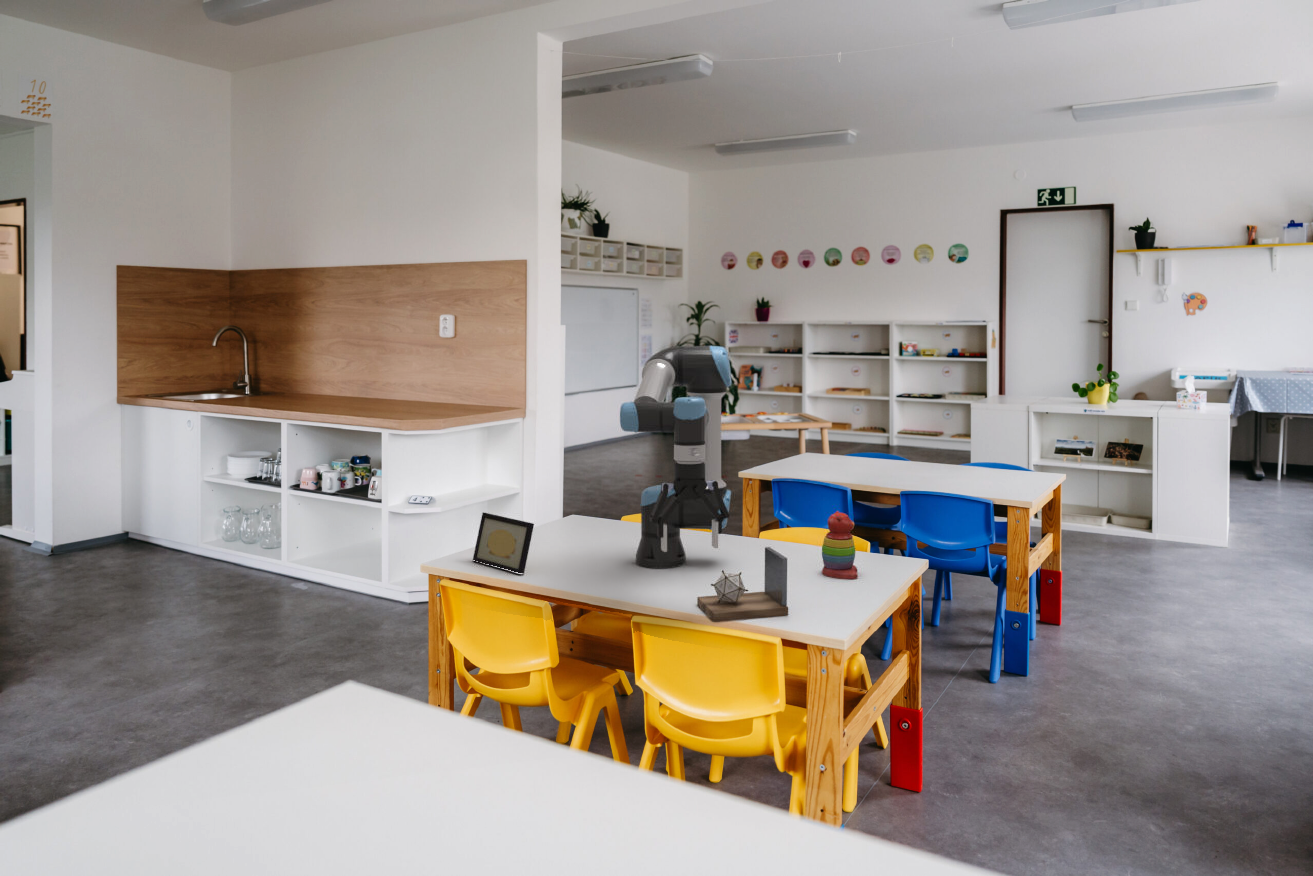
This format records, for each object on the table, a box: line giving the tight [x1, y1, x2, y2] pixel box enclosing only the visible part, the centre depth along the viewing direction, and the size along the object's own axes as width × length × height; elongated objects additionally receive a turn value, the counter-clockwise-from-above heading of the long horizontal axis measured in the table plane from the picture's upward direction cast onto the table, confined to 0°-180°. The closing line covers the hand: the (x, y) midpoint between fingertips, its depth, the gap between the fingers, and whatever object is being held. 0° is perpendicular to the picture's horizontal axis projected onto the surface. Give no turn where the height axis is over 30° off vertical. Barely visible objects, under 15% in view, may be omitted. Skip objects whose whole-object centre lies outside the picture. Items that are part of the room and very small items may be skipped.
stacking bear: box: [821, 510, 859, 580], centre depth 256 cm, size 11×10×18 cm
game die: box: [710, 569, 749, 605], centre depth 224 cm, size 9×8×10 cm
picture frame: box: [472, 512, 535, 574], centre depth 268 cm, size 23×9×15 cm, turn 47°
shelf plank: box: [696, 591, 789, 623], centre depth 225 cm, size 14×19×2 cm
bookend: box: [764, 546, 788, 607], centre depth 226 cm, size 12×1×12 cm, turn 14°
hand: (689, 548), depth 220 cm, fingers open, 12 cm apart
